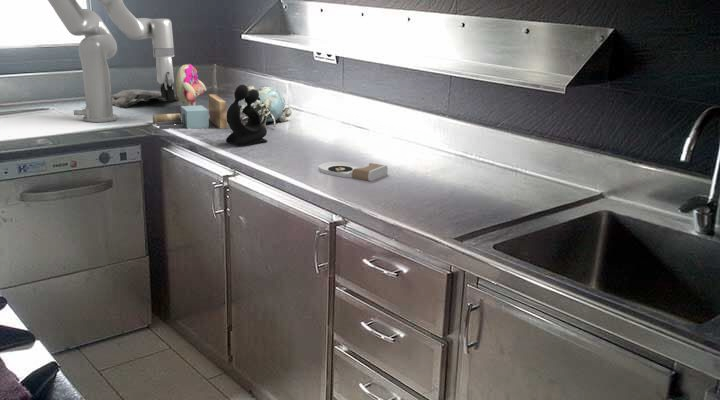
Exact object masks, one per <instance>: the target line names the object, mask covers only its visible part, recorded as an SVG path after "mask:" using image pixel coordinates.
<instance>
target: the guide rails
mask: <svg viewBox="0 0 720 400" xmlns="http://www.w3.org/2000/svg"><path fill="white" fill-rule="evenodd" d="M174 124H176V125H174ZM156 127H159V130H170V129H169V128H174V129H185V128H186V124H185V125H184V124H182V120H181V121H171V122H157V124H156Z"/></svg>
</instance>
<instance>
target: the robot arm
mask: <svg viewBox="0 0 720 400" xmlns="http://www.w3.org/2000/svg"><path fill="white" fill-rule="evenodd" d="M47 1H48V3H49V4H50V6H51V7H52V8H53V10H54V12H55V13H56V15H57V16H58V18H59V20H60V21H61V22H62V24H63V25H64V27H65V29H66V30H67V31H68V32H69V34H71V35H72V36H75V37H76V36H77V37H79V36H84V38H83V39H82V40H81V41H80V42H79V44H78V55H79V60H80V63H81V69H82V78H83V85H84V86H83V87H84V89H83V90H84V98H85V107H84V108H82V109H74V110H73V115H74V116H82V120H83V121H84V122H86V123H87V122H89V123H106V122H114V121H117V120H118V118H119V116H118V115H117V114H114V109H113V104H112V96H113V94H112V86H111V85H112V84H111V74H110V67H109V65H108V61H107V60H109V59H111V58H113V57H114V56H115V55H116V54H117V51H118V44H117V41H116V40H115V38H114V35H112V33H111V31H110V30H109V28H108V27H107V25H106V24H105V22H104V21H103V19H102V18H101V16H100V15H99V14H98V13H97V12H95V11H94V10H92V9H89V8H82V7H81V5H80V4H79V3H78V1H77V0H47ZM98 2H99V3H100V4H101V5H102V6H103V7H104V8H105V9H104V10H105V11H106V14H107V15H108V16H109V18H110V20H111V21H112V23H113V25H115V26H116V27H117V28H118V29H119V30H120V32H121V33H123V34H124V36H125V37H127V38H129V39H130V40H133V41H139V40H146V39H150V38H151V42H152V54H153V58H155V66H156V81H157V83H159V85H160V92H161V97H165V99H166V101H165V102H172V101H176V100H175V99H174V94H175V89H174V86H173V85H174V82H175V79H174V68H173V67H174V66H173V57H175V46H174V45H175V44H174V36H173V25H172V24H173V23H172V20H171V19H170V18H148V17H140V18H139V17H138V18H137V17H136V16H134V14H132V12H131V11H130V10H129V9H128V8H127V6H126V5H125V3H124V1H123V0H98Z"/></svg>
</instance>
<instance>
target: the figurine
mask: <svg viewBox="0 0 720 400" xmlns="http://www.w3.org/2000/svg"><path fill="white" fill-rule="evenodd" d="M247 87H248V85H247V86H246V85H245V84H240V85H239V84H238V86H237V87H236V88H235V89H234V95H233V96H234V102H232V104H230V105H229V107H228V108H227V110H226V117H227V126H229V128H230V130H231V131H232V132H231V133H230V134H229V135H228V136H227V137H226V139H225V142H226V143H228V144H231V145H235V146H237V147H243V146H250V145H256V144H262V143H267V142H268V140H267V139H266V138H264V137H266V135H267V133H268V130H267V128H266V125H265V126H264V125H263V122H261V118H260V115H259V113H258V112H257V110H255V109H254V108H253V107H251V104H252V103H254V102H255V101H257V100H260V98H259V92H258V91H257V89H255V90H254V89H253V90H250V91H248V88H247ZM243 100H244V103H245V104H246V103H247V106H246V107H245V108H244V109H242V110H241V109H240V106H239V102H241V101H243ZM240 111H242V113H244V114H243V115H245V116H247V117H248V118H247V119H248V122H247V123H245V124H244V122H243V120H242V119H241V116H240Z"/></svg>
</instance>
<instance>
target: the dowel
mask: <svg viewBox="0 0 720 400" xmlns="http://www.w3.org/2000/svg"><path fill="white" fill-rule="evenodd" d="M171 121H181V122H182V118H181V114H180V113H179V112H178V113H163V114H161V113H160V114H152V123H153V122H154V123H153V125H156V124H155V123H157V122H171Z"/></svg>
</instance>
